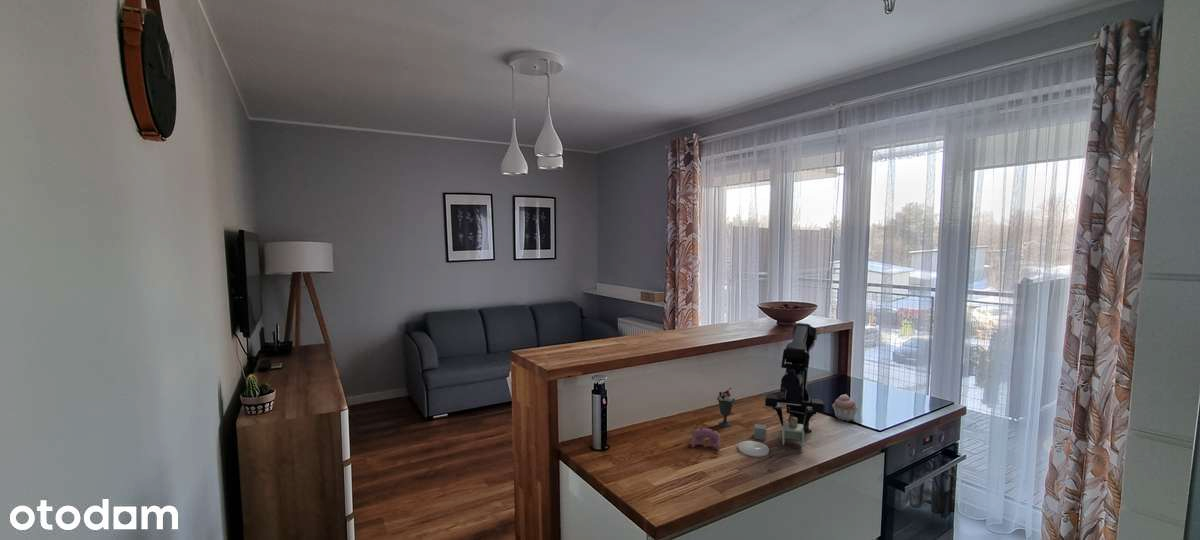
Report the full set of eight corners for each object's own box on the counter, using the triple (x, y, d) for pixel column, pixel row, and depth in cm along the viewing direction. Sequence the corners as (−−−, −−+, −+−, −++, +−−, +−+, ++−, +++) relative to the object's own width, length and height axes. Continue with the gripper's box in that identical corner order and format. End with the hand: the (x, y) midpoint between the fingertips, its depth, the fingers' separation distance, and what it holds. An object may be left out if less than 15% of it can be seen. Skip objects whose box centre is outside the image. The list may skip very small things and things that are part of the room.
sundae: (734, 428, 178) (735, 389, 177) (716, 427, 179) (717, 388, 178) (733, 422, 184) (734, 384, 183) (715, 420, 186) (716, 383, 185)
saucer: (758, 442, 166) (758, 439, 166) (774, 455, 156) (775, 452, 156) (732, 445, 164) (732, 442, 164) (747, 458, 154) (747, 455, 154)
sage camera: (802, 439, 165) (803, 415, 165) (803, 447, 159) (804, 422, 158) (782, 436, 167) (782, 413, 167) (782, 444, 161) (783, 420, 161)
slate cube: (765, 436, 172) (766, 425, 172) (765, 440, 168) (766, 429, 168) (754, 434, 173) (754, 423, 173) (754, 438, 169) (754, 427, 169)
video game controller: (720, 452, 162) (721, 430, 165) (720, 451, 158) (721, 429, 161) (691, 447, 165) (693, 427, 168) (690, 447, 161) (691, 425, 164)
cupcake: (862, 419, 187) (863, 395, 187) (850, 424, 182) (851, 399, 181) (839, 412, 195) (840, 388, 194) (826, 417, 190) (827, 392, 189)
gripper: (821, 379, 166) (820, 422, 167) (765, 373, 172) (764, 415, 174) (825, 388, 156) (823, 434, 157) (765, 382, 162) (764, 426, 163)
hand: (793, 427), depth 163 cm, fingers closed on sage camera, 7 cm apart
